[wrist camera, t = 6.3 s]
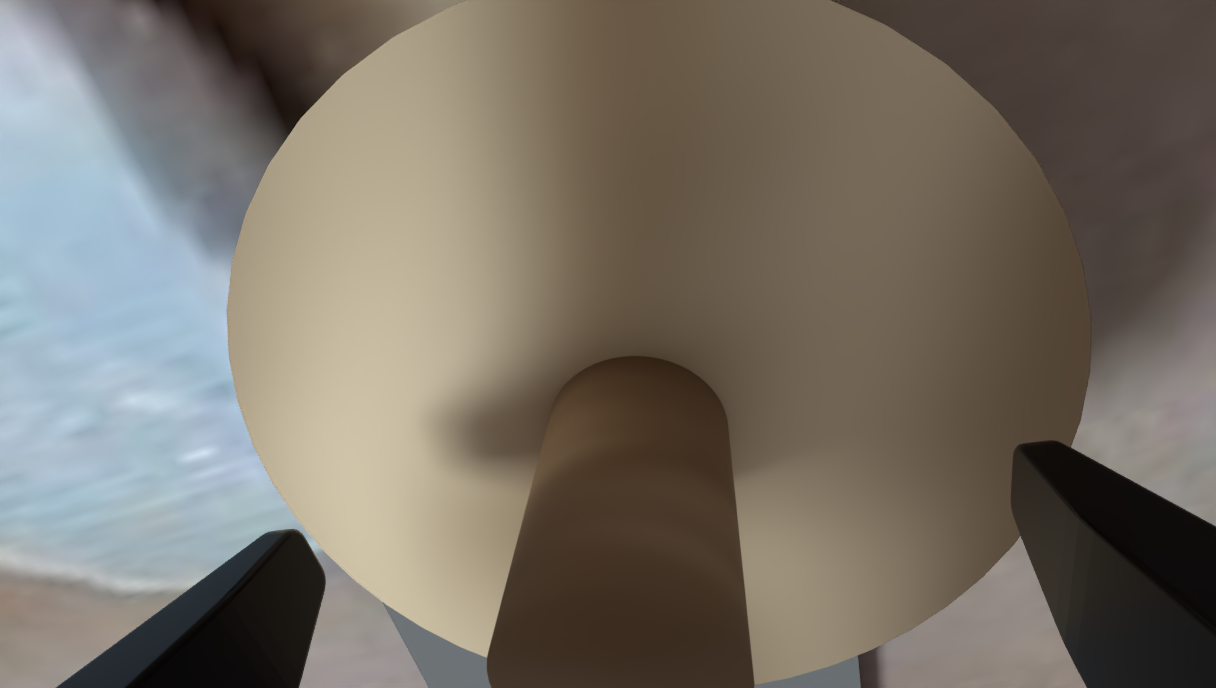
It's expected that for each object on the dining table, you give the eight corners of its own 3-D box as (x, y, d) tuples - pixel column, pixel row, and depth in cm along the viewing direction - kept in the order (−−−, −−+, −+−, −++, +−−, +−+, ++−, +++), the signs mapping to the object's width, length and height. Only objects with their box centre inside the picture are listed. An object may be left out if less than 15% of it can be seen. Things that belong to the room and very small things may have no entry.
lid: (1105, -171, 7) (1684, -305, 3) (1037, 628, 13) (1207, 958, 9) (97, 91, 9) (-359, 222, 5) (417, 675, 15) (320, 958, 11)
